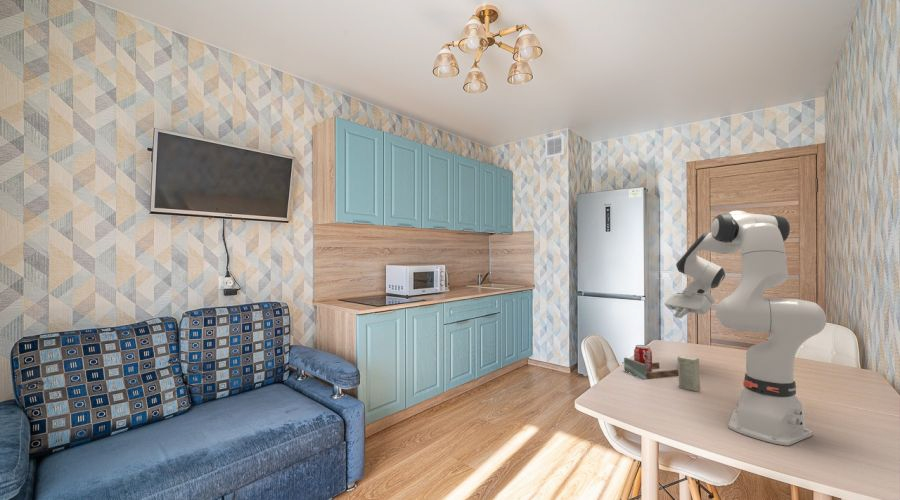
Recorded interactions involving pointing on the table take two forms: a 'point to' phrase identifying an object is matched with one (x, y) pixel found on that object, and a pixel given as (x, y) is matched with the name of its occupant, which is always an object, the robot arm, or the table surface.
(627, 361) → the can dock
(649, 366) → the soda can
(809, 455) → the table surface
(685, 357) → the skincare box
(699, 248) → the robot arm
